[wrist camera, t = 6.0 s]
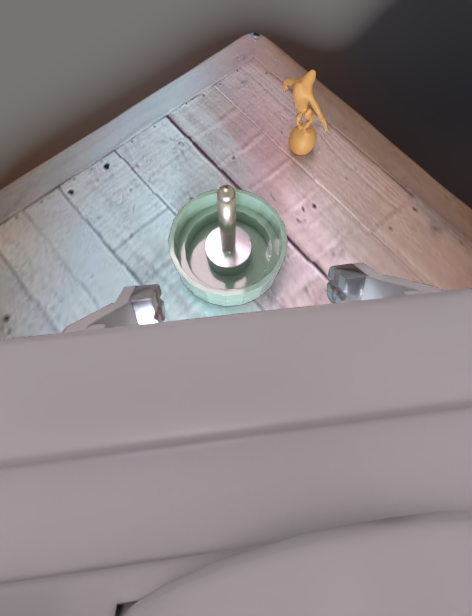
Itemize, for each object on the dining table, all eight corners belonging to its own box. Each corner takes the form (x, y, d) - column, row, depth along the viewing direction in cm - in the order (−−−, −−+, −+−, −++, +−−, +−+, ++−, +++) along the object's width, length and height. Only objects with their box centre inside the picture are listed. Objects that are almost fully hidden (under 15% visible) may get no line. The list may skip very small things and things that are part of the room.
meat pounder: (247, 234, 38) (255, 157, 24) (253, 273, 36) (264, 215, 23) (205, 238, 37) (189, 163, 24) (208, 278, 36) (194, 222, 23)
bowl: (271, 207, 39) (277, 183, 34) (287, 300, 36) (296, 288, 31) (174, 216, 38) (165, 193, 34) (180, 312, 35) (172, 301, 30)
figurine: (326, 161, 41) (363, 77, 29) (297, 182, 40) (323, 103, 28) (291, 127, 43) (313, 34, 31) (262, 146, 42) (273, 57, 30)
